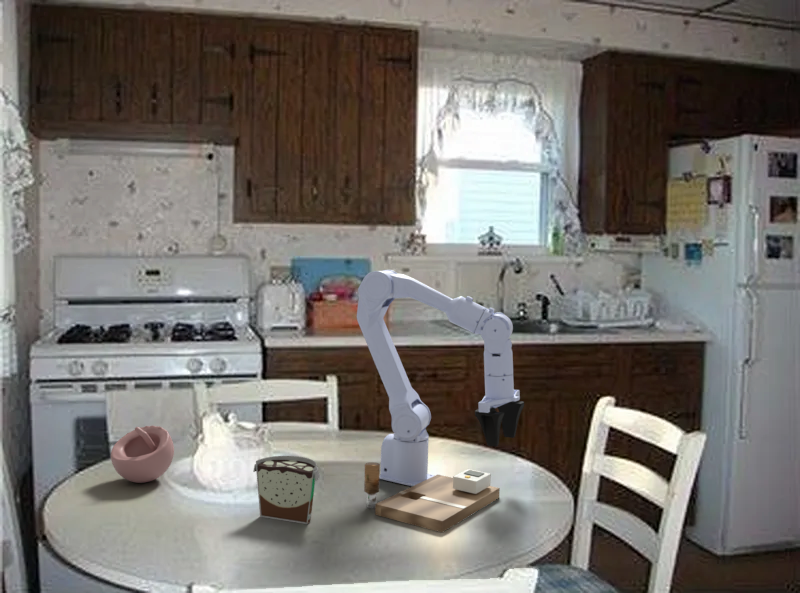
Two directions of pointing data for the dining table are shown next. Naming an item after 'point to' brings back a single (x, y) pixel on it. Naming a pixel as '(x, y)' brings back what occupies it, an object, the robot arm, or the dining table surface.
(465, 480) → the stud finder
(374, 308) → the robot arm
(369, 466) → the brown translucent cylinder
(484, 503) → the board
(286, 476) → the food container
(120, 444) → the mortar and pestle
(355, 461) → the dining table surface
